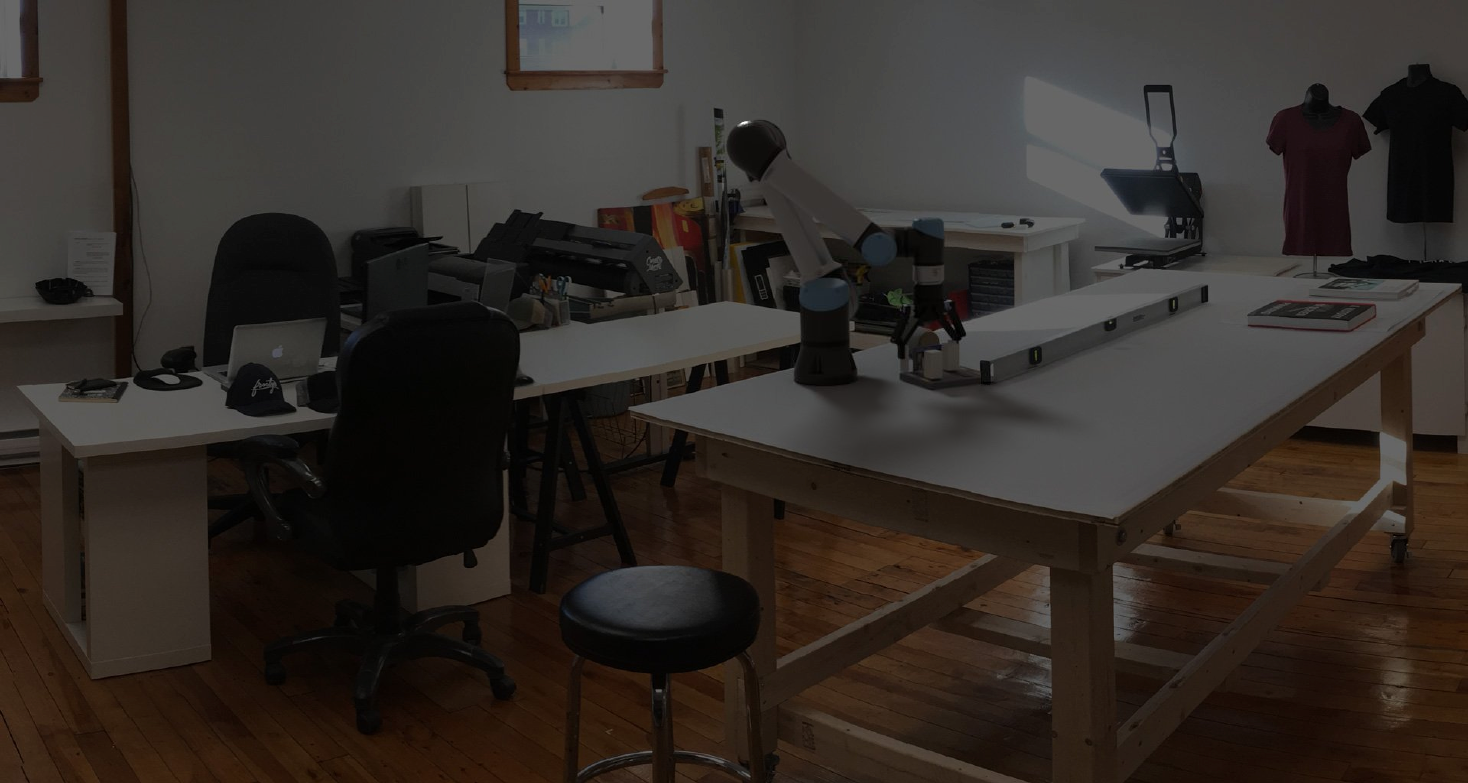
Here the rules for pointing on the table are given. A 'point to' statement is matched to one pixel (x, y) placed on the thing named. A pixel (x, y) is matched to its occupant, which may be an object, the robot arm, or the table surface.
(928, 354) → the cream upright block
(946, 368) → the tab
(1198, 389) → the table surface
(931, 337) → the ceramic mug
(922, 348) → the mini dv tape
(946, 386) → the grey base plate
